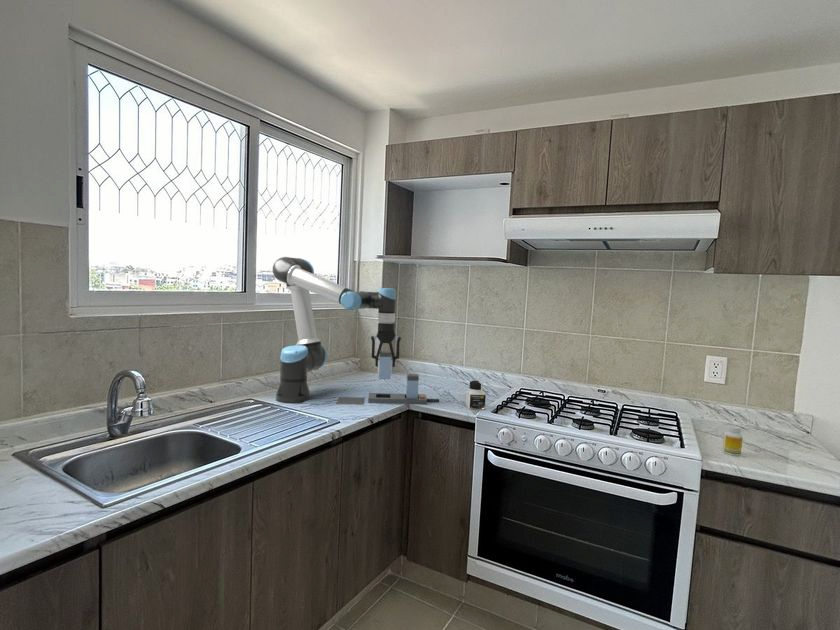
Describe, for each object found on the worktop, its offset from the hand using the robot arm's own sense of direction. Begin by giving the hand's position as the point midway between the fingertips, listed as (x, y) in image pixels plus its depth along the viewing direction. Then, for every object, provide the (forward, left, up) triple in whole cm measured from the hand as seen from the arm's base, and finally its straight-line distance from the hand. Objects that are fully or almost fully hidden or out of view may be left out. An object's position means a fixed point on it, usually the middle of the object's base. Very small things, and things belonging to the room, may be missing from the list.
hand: (384, 373), depth 202 cm
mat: (-15, 0, -13) cm, 20 cm away
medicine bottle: (+41, -4, -13) cm, 43 cm away
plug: (0, 0, -2) cm, 2 cm away
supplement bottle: (+123, -54, -13) cm, 135 cm away
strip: (+9, 0, -13) cm, 16 cm away
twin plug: (+13, 0, -12) cm, 18 cm away
